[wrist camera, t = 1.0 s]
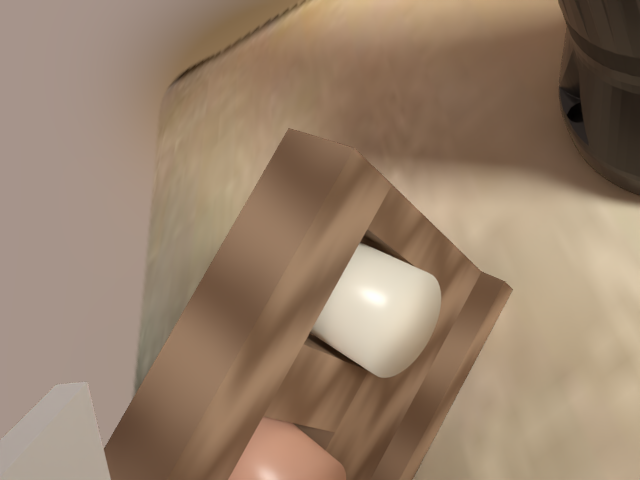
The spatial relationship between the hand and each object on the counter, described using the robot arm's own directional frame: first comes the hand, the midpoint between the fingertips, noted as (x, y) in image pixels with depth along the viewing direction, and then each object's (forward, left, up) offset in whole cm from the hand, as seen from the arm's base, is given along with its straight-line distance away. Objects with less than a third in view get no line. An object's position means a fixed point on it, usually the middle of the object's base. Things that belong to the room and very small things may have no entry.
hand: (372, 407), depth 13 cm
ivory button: (-2, -11, -13) cm, 17 cm away
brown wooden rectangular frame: (+7, -10, -20) cm, 24 cm away
